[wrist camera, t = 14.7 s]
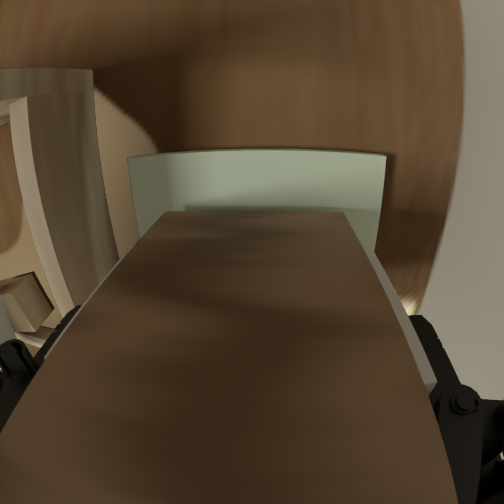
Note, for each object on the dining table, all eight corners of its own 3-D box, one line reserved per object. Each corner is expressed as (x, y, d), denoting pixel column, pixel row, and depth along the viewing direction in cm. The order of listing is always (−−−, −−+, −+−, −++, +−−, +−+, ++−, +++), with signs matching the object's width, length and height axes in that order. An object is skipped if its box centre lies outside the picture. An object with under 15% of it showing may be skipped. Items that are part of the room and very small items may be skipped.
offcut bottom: (6, 313, 21) (-11, 331, 19) (-12, 283, 20) (-30, 301, 17) (54, 308, 20) (35, 331, 17) (33, 271, 18) (11, 292, 15)
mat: (159, 304, 18) (156, 310, 17) (132, 156, 13) (127, 158, 13) (358, 309, 17) (360, 315, 16) (381, 153, 12) (386, 156, 12)
